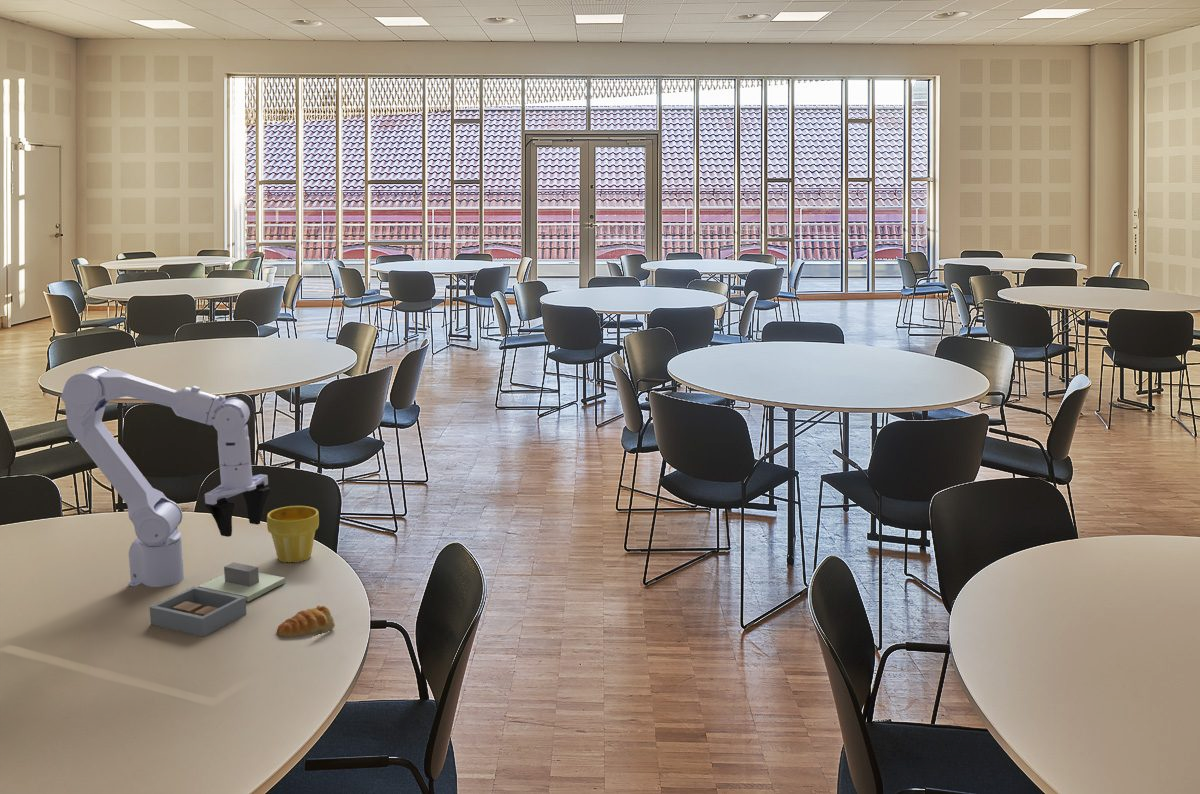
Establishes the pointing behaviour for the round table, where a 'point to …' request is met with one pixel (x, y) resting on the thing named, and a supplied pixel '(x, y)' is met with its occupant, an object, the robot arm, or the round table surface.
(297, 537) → the plant pot
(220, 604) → the box
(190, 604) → the brick
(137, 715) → the round table surface
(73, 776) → the round table surface
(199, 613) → the brick
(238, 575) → the lid
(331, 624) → the pastry
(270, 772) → the round table surface
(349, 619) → the round table surface
